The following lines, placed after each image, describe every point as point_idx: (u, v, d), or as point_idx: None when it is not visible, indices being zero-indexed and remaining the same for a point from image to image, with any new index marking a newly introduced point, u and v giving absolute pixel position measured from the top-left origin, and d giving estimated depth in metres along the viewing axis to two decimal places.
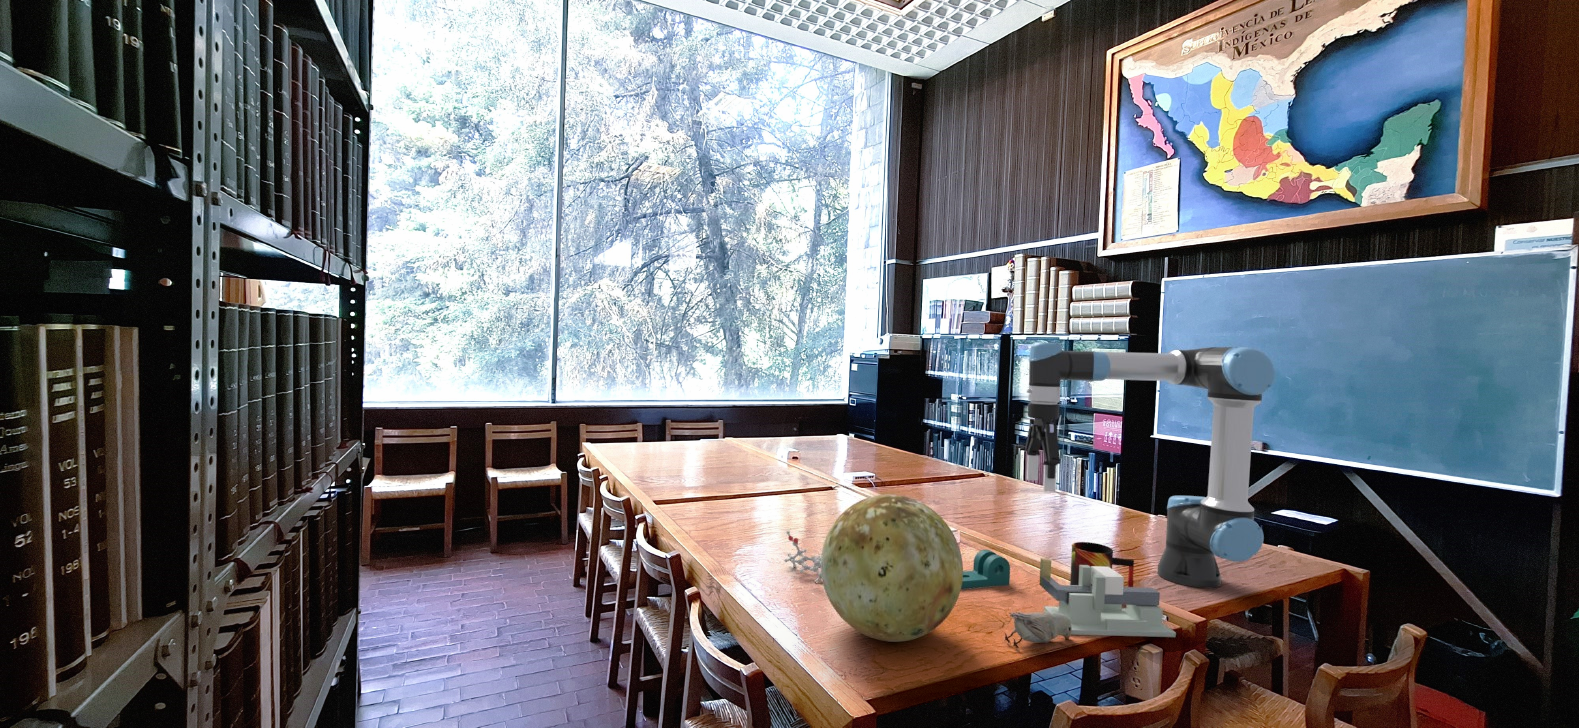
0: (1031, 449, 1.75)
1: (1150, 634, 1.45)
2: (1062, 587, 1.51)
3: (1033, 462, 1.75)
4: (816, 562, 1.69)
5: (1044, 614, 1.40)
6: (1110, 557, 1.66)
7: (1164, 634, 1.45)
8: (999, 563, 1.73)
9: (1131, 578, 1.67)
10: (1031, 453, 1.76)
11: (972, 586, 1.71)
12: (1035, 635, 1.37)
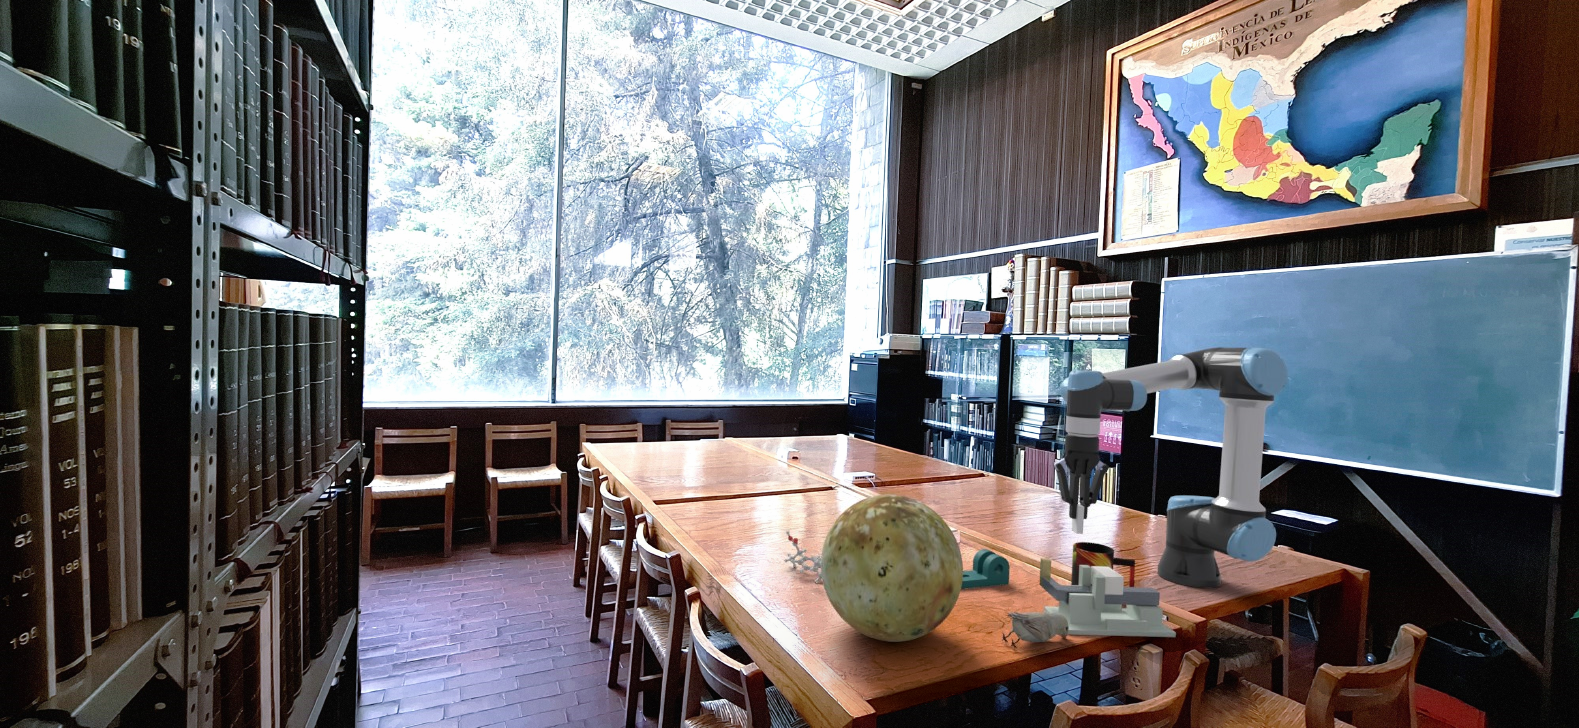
0: (1080, 494, 1.59)
1: (1150, 634, 1.45)
2: (1062, 587, 1.51)
3: None
4: (816, 562, 1.69)
5: (1041, 614, 1.40)
6: (1111, 557, 1.66)
7: (1164, 634, 1.45)
8: (999, 562, 1.74)
9: (1132, 578, 1.67)
10: (1080, 502, 1.59)
11: (972, 586, 1.71)
12: (1033, 635, 1.37)
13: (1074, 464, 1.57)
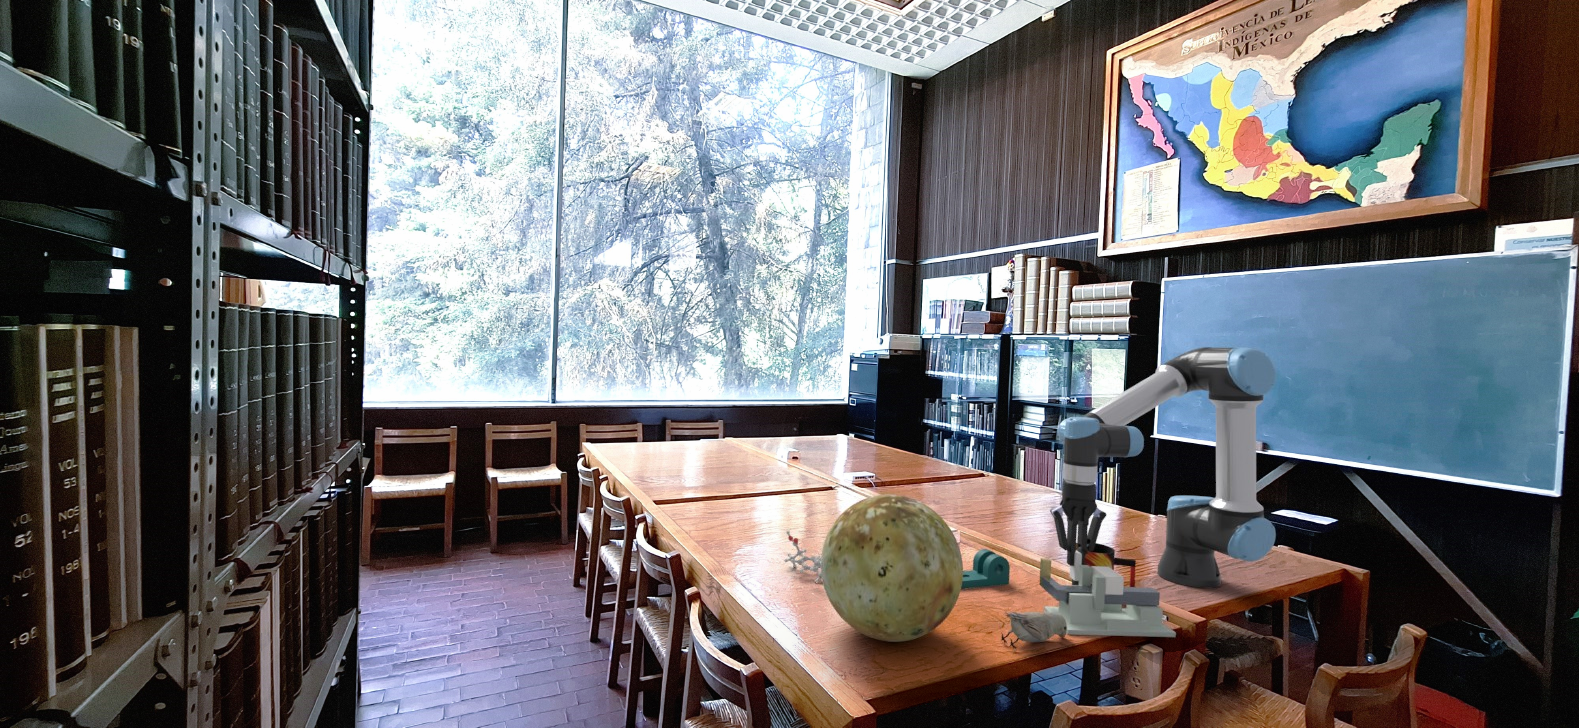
0: (1078, 540, 1.59)
1: (1150, 634, 1.45)
2: (1062, 587, 1.51)
3: None
4: (816, 562, 1.69)
5: (1040, 614, 1.40)
6: (1112, 557, 1.66)
7: (1164, 634, 1.45)
8: (999, 562, 1.74)
9: (1133, 578, 1.67)
10: (1078, 549, 1.59)
11: (972, 586, 1.71)
12: (1031, 635, 1.37)
13: (1071, 511, 1.57)
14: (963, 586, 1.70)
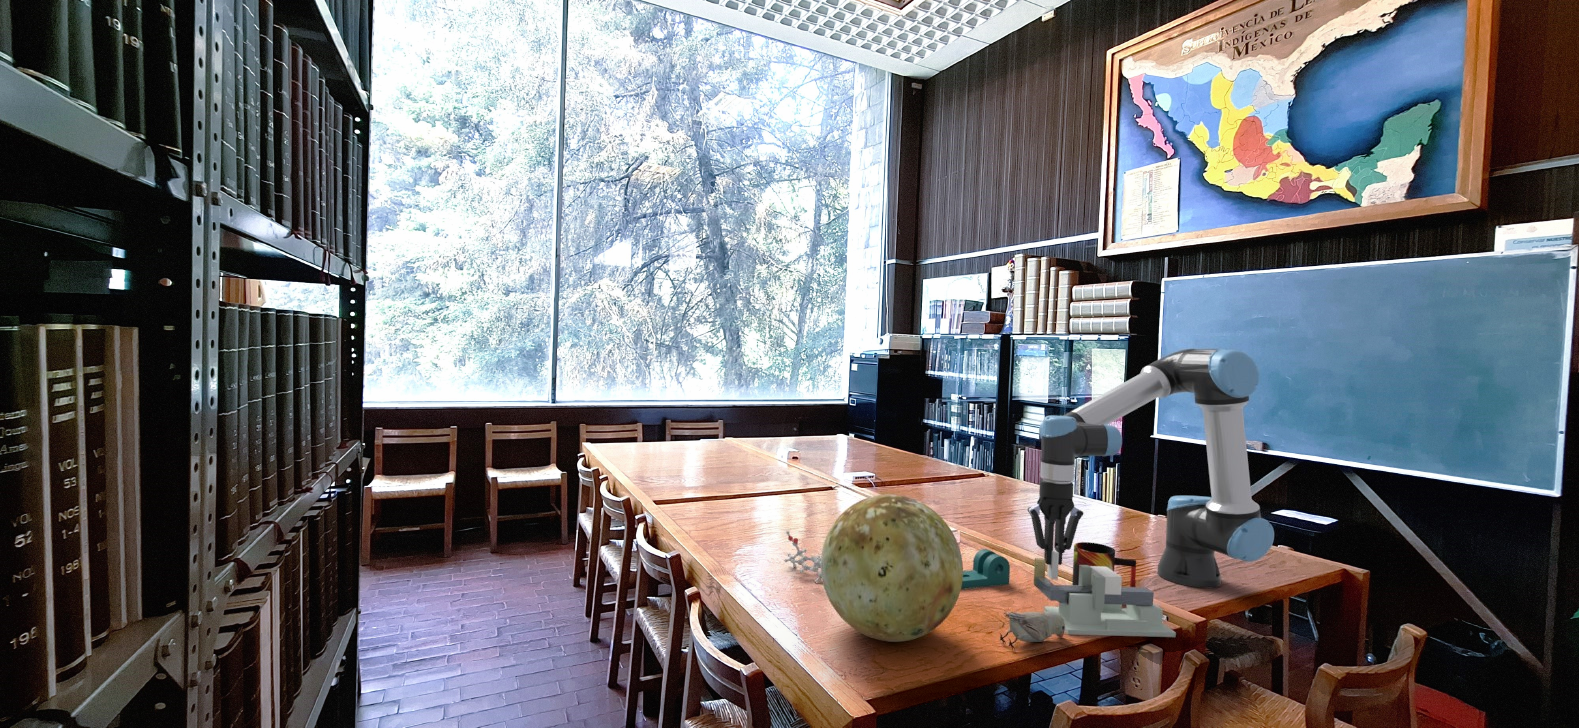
0: (1055, 539, 1.59)
1: (1150, 634, 1.45)
2: (1056, 587, 1.51)
3: None
4: (816, 562, 1.69)
5: (1038, 613, 1.40)
6: (1112, 557, 1.66)
7: (1164, 634, 1.45)
8: (999, 562, 1.74)
9: (1133, 578, 1.67)
10: (1055, 548, 1.59)
11: (972, 586, 1.71)
12: (1030, 635, 1.37)
13: (1048, 510, 1.57)
14: (963, 586, 1.70)
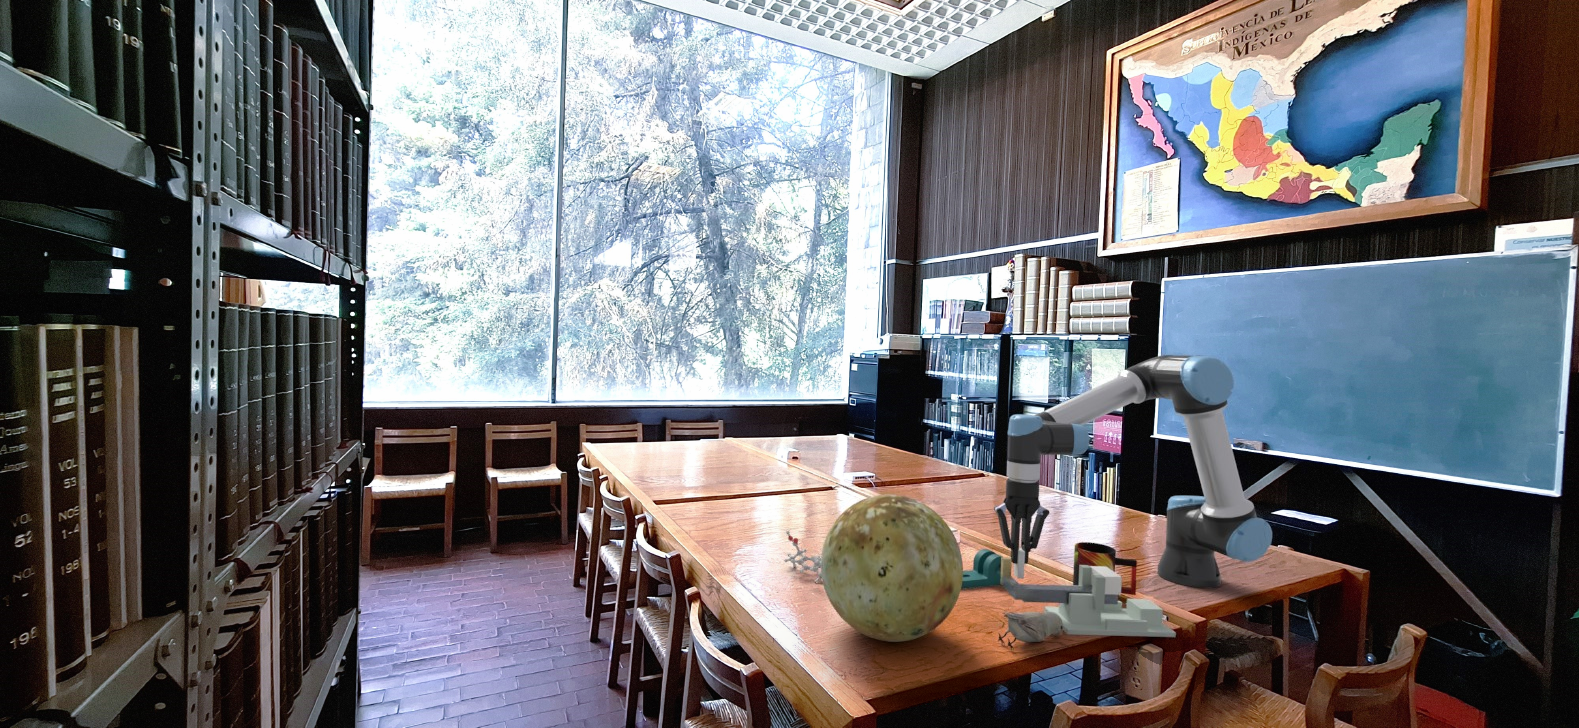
0: (1021, 538, 1.59)
1: (1150, 634, 1.45)
2: (1021, 586, 1.51)
3: None
4: (816, 562, 1.69)
5: (1037, 613, 1.40)
6: (1113, 557, 1.66)
7: (1164, 634, 1.45)
8: (999, 562, 1.74)
9: (1134, 579, 1.67)
10: (1022, 547, 1.59)
11: (973, 586, 1.71)
12: (1029, 635, 1.37)
13: (1014, 509, 1.57)
14: (963, 586, 1.71)
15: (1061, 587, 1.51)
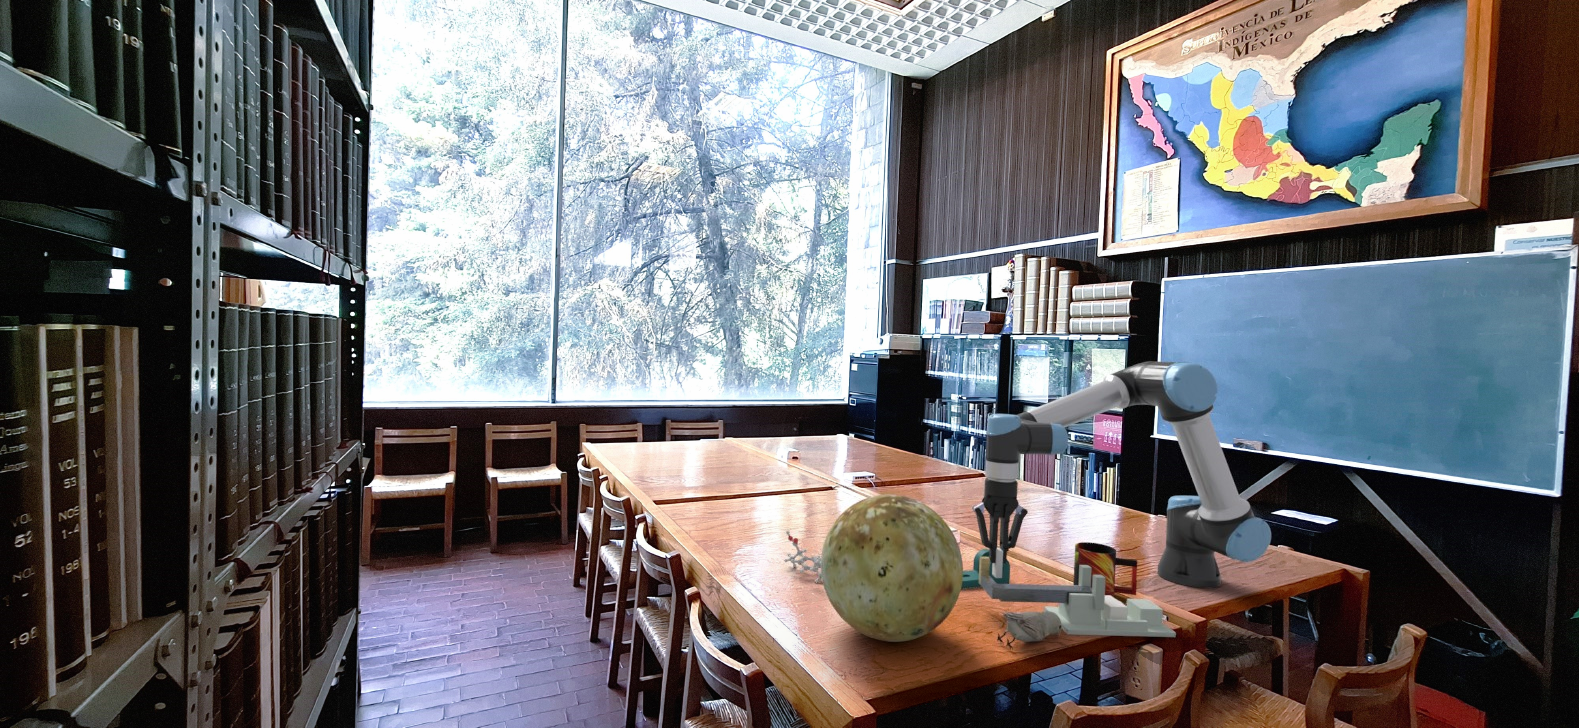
0: (1000, 537, 1.59)
1: (1150, 634, 1.45)
2: (998, 585, 1.51)
3: None
4: (816, 562, 1.69)
5: (1035, 613, 1.40)
6: (1113, 557, 1.66)
7: (1164, 634, 1.45)
8: None
9: (1134, 579, 1.67)
10: (1000, 546, 1.59)
11: (973, 586, 1.71)
12: (1028, 634, 1.37)
13: (993, 508, 1.57)
14: (964, 586, 1.71)
15: (1038, 586, 1.51)
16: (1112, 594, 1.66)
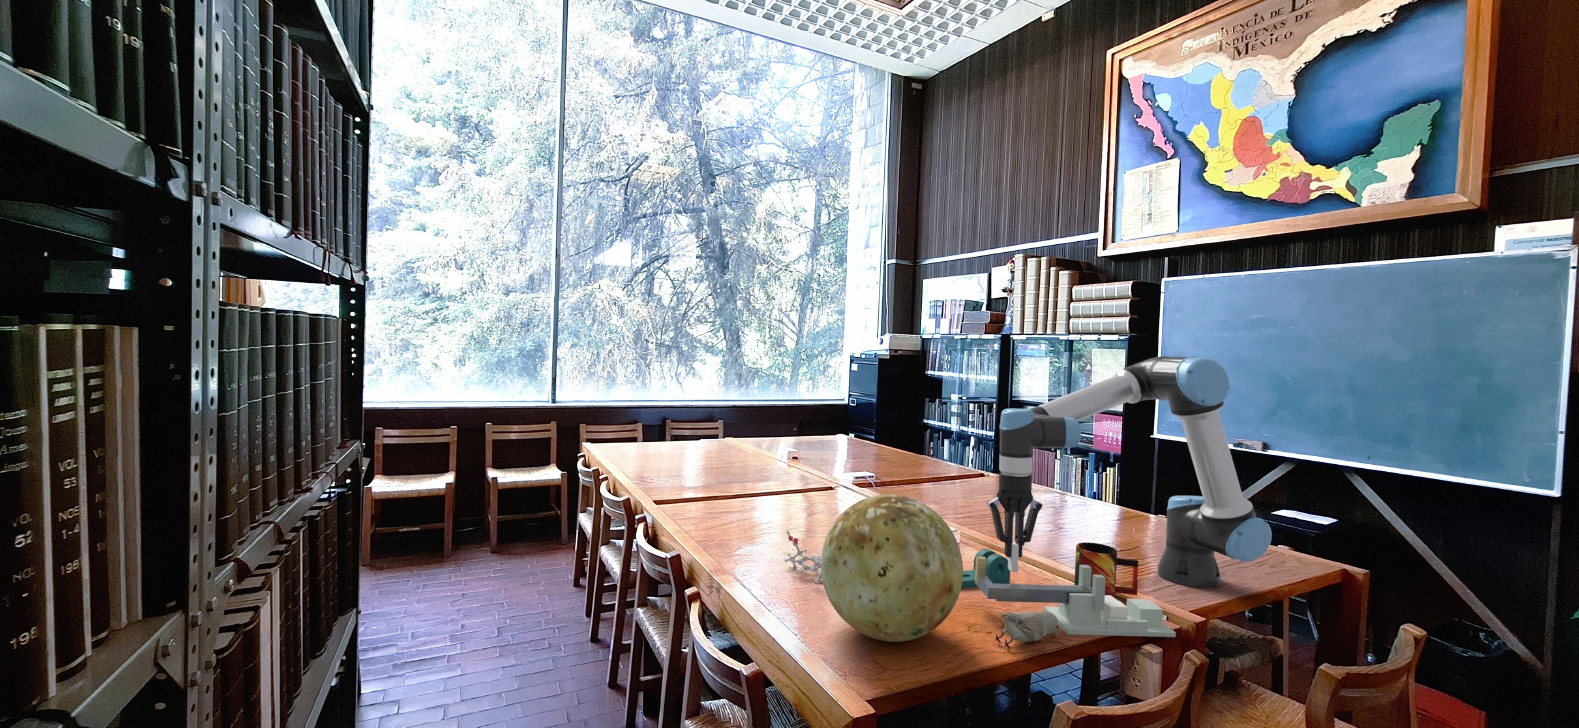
0: (1015, 532, 1.59)
1: (1150, 634, 1.45)
2: (994, 585, 1.51)
3: None
4: (816, 562, 1.69)
5: (1033, 613, 1.40)
6: (1114, 557, 1.66)
7: (1164, 634, 1.45)
8: (1000, 562, 1.74)
9: (1135, 579, 1.67)
10: (1015, 541, 1.59)
11: (973, 585, 1.71)
12: (1026, 635, 1.37)
13: (1007, 503, 1.57)
14: (964, 586, 1.71)
15: (1034, 586, 1.51)
16: (1113, 594, 1.66)
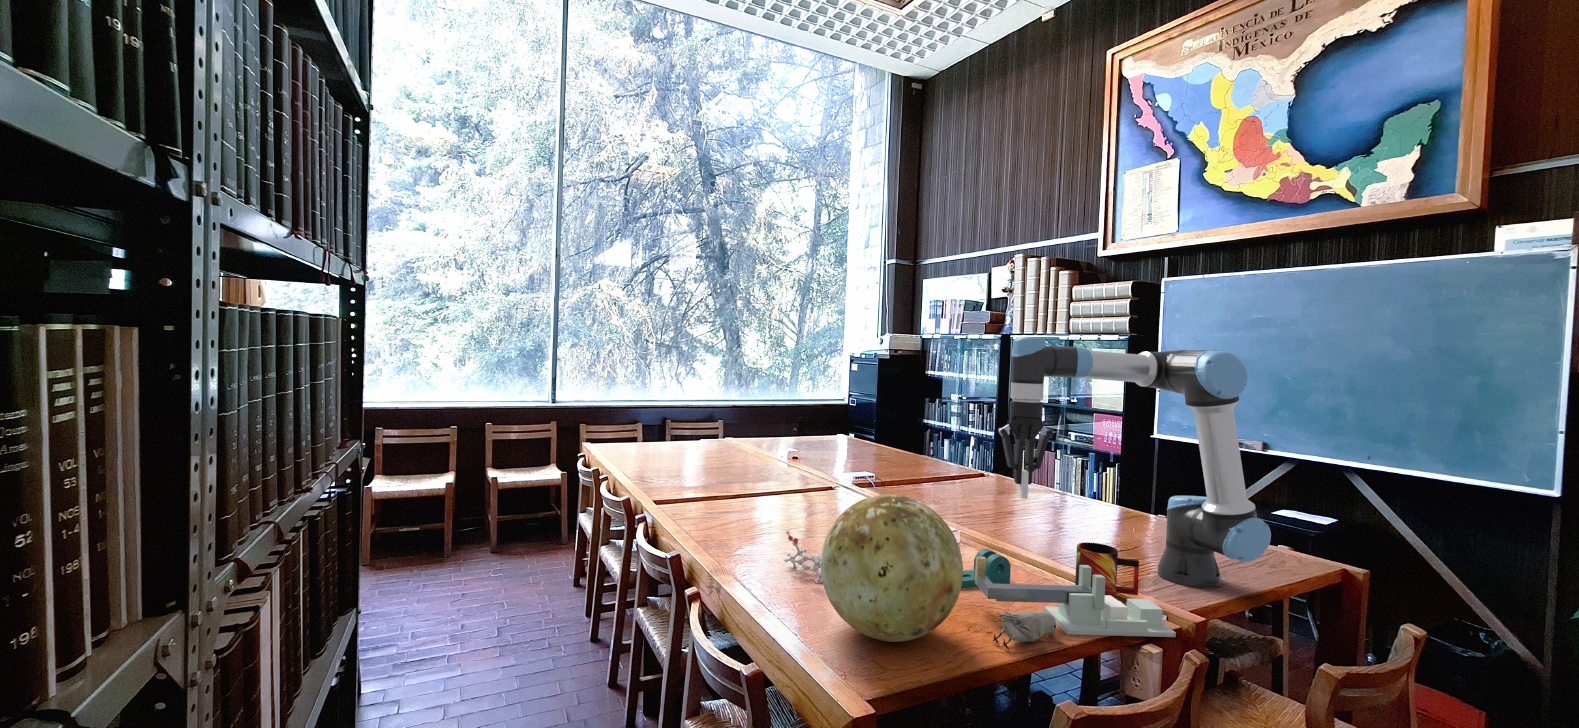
0: (1025, 459, 1.61)
1: (1150, 634, 1.45)
2: (994, 585, 1.51)
3: None
4: (816, 562, 1.69)
5: (1031, 613, 1.40)
6: (1115, 558, 1.66)
7: (1164, 634, 1.45)
8: (1000, 562, 1.74)
9: (1136, 579, 1.67)
10: (1025, 468, 1.61)
11: (973, 585, 1.72)
12: (1023, 634, 1.37)
13: (1018, 430, 1.59)
14: (964, 586, 1.71)
15: (1034, 586, 1.51)
16: (1114, 594, 1.66)
